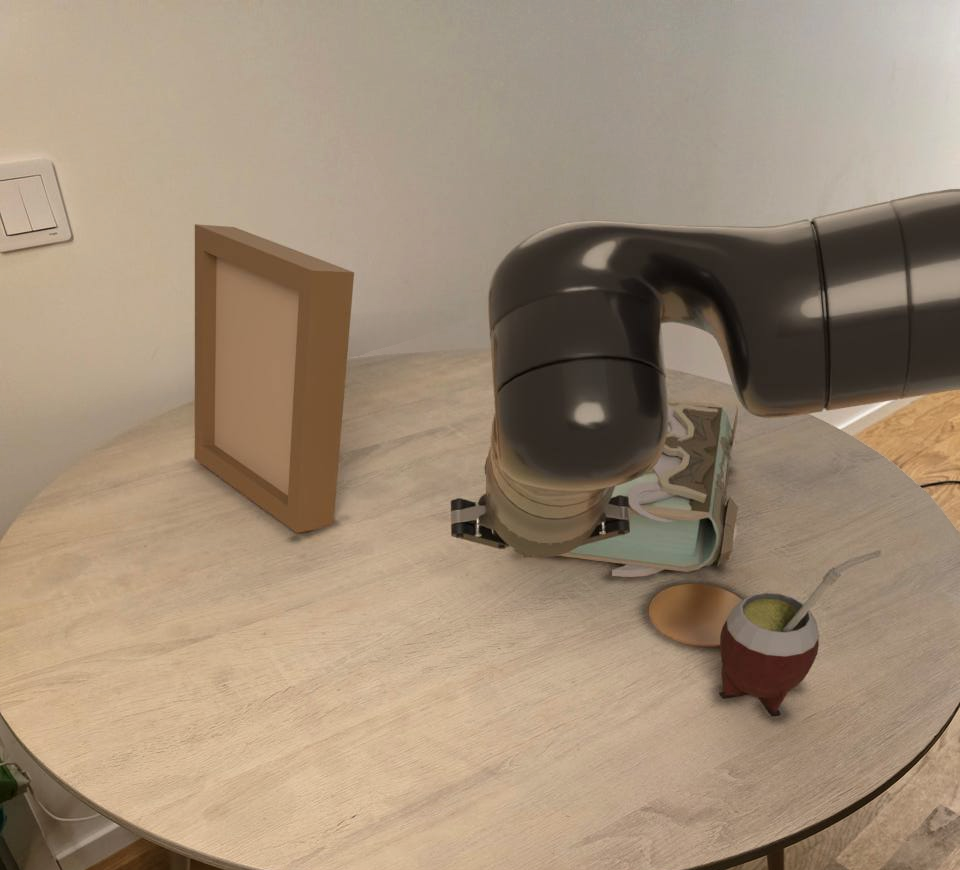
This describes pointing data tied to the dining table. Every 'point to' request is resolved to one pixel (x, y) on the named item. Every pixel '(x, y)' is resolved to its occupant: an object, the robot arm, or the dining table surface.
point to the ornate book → (678, 500)
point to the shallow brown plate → (692, 613)
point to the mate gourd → (772, 642)
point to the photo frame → (270, 371)
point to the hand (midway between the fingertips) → (533, 544)
